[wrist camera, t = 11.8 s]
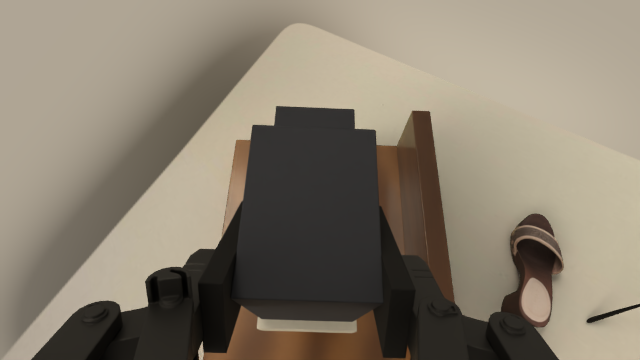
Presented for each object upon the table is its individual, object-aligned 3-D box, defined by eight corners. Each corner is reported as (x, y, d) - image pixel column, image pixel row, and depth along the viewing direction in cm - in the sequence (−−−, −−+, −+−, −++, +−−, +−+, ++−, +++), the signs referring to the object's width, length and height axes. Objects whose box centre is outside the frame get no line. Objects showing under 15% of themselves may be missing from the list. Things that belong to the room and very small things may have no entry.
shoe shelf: (196, 447, 27) (155, 483, 20) (239, 149, 38) (223, 102, 31) (434, 454, 27) (480, 491, 20) (407, 156, 38) (430, 110, 31)
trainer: (352, 333, 22) (391, 319, 12) (260, 330, 22) (221, 314, 12) (350, 148, 27) (375, 34, 17) (277, 146, 27) (260, 29, 17)
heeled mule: (559, 233, 35) (587, 220, 32) (534, 341, 31) (562, 340, 27) (515, 212, 36) (537, 197, 32) (484, 315, 32) (505, 311, 28)
